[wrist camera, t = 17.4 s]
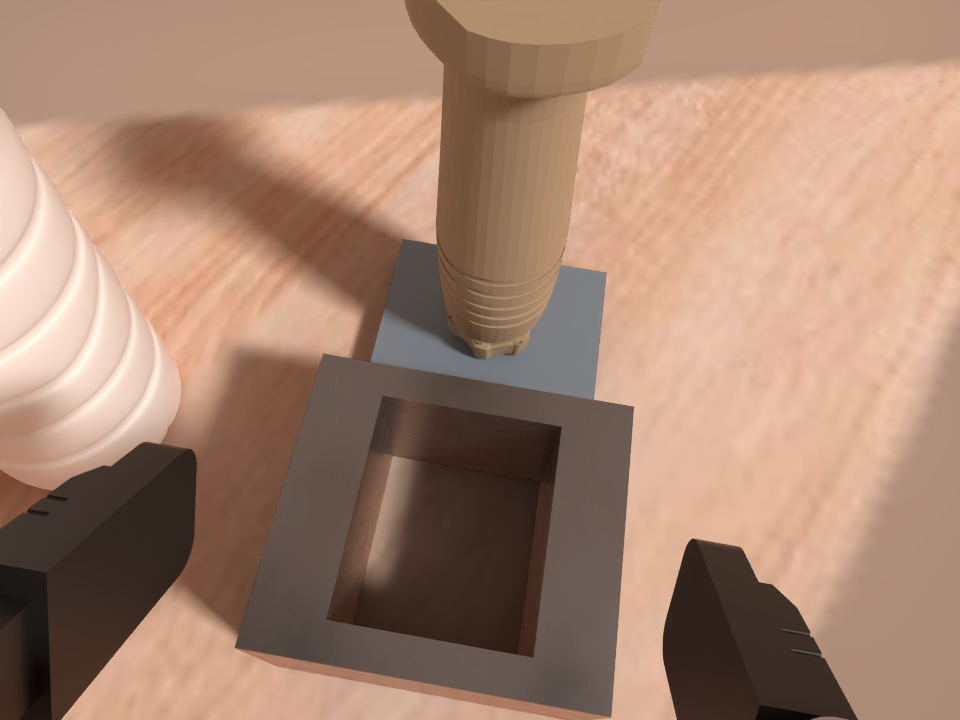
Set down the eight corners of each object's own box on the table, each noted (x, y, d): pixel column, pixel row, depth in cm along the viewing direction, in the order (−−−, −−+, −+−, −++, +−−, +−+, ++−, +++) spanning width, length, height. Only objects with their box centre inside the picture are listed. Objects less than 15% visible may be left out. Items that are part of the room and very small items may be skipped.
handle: (538, 245, 28) (613, -184, 15) (576, 394, 26) (710, 30, 12) (415, 261, 28) (379, -169, 15) (440, 414, 25) (424, 57, 12)
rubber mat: (369, 387, 26) (366, 375, 26) (403, 254, 29) (402, 239, 28) (587, 424, 26) (592, 413, 25) (601, 286, 29) (606, 272, 28)
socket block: (275, 666, 22) (234, 647, 18) (343, 419, 26) (323, 353, 21) (576, 721, 22) (611, 717, 17) (600, 464, 26) (633, 406, 21)
